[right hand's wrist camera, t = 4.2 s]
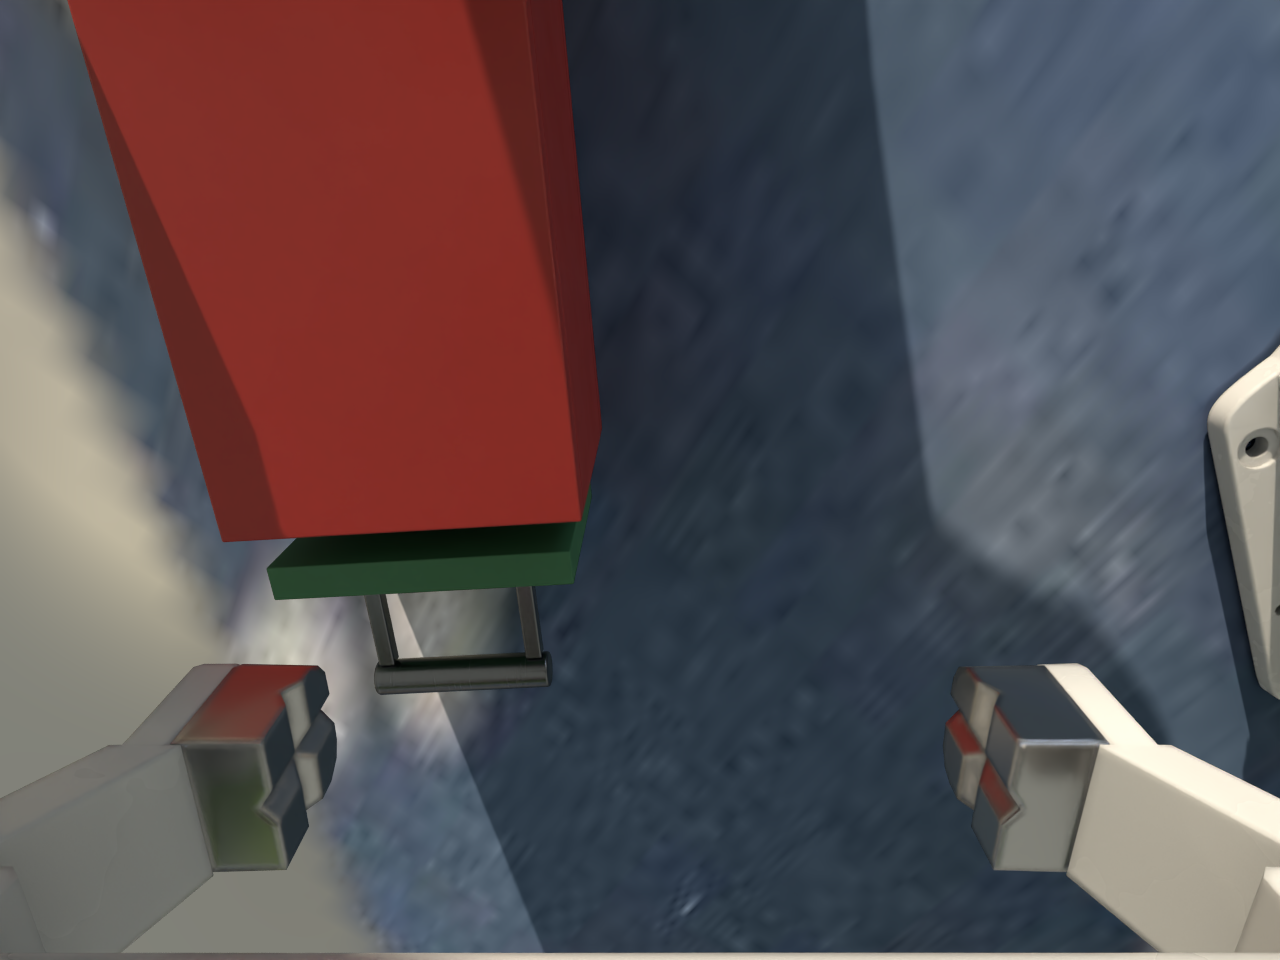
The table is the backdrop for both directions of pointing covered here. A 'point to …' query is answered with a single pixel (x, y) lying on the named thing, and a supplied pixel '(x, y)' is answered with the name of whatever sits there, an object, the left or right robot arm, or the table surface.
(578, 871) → the table surface
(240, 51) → the cabinet
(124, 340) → the table surface
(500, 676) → the drawer
